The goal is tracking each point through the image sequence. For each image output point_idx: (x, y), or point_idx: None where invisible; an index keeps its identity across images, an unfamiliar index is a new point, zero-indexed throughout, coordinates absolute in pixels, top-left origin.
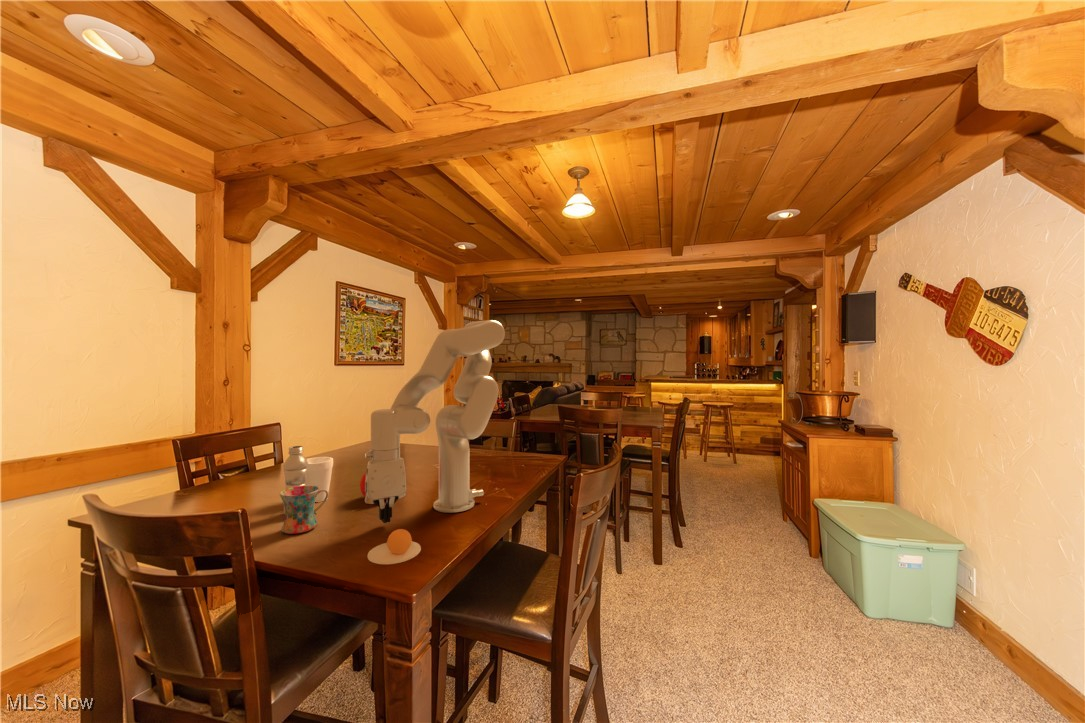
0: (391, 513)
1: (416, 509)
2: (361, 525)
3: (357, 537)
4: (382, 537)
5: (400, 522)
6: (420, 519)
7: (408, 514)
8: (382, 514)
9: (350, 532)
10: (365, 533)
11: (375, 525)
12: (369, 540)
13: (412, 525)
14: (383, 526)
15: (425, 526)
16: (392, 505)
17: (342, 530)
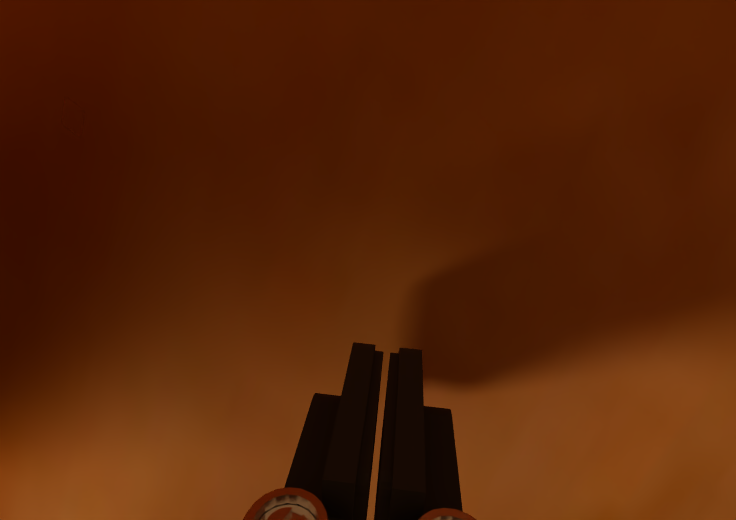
0: (311, 424)
1: (58, 506)
2: (538, 505)
3: (719, 296)
4: (532, 114)
5: (239, 360)
6: (56, 305)
7: (136, 464)
8: (432, 449)
9: (689, 439)
10: (606, 335)
11: None
12: (683, 131)
13: (154, 218)
14: None
15: (31, 94)
16: (268, 514)
17: (708, 513)
